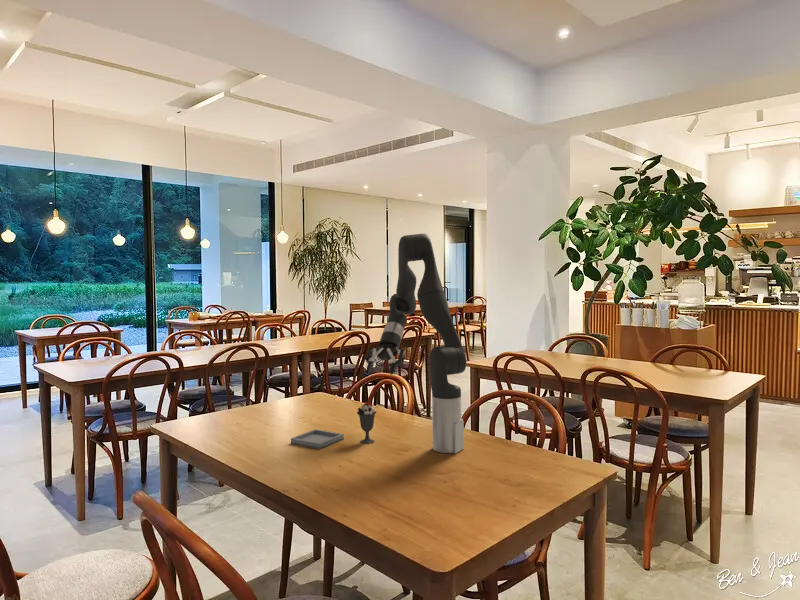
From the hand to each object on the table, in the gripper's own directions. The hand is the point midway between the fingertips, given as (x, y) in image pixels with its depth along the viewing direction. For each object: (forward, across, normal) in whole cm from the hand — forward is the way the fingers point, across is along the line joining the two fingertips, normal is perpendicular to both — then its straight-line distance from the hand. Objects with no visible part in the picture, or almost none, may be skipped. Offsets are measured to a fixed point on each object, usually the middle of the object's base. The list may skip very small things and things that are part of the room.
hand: (379, 372), depth 193 cm
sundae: (+24, 0, +7) cm, 25 cm away
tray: (+27, -16, +3) cm, 32 cm away
